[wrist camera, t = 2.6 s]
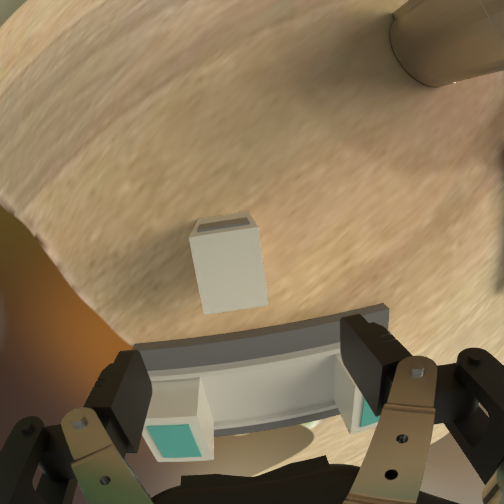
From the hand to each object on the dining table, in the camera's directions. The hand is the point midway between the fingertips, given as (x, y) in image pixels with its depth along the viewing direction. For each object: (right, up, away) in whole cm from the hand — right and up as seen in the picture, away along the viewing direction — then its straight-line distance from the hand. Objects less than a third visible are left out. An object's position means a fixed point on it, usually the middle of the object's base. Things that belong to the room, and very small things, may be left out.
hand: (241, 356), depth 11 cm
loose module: (-2, +5, +17) cm, 17 cm away
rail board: (+2, -10, +21) cm, 23 cm away
